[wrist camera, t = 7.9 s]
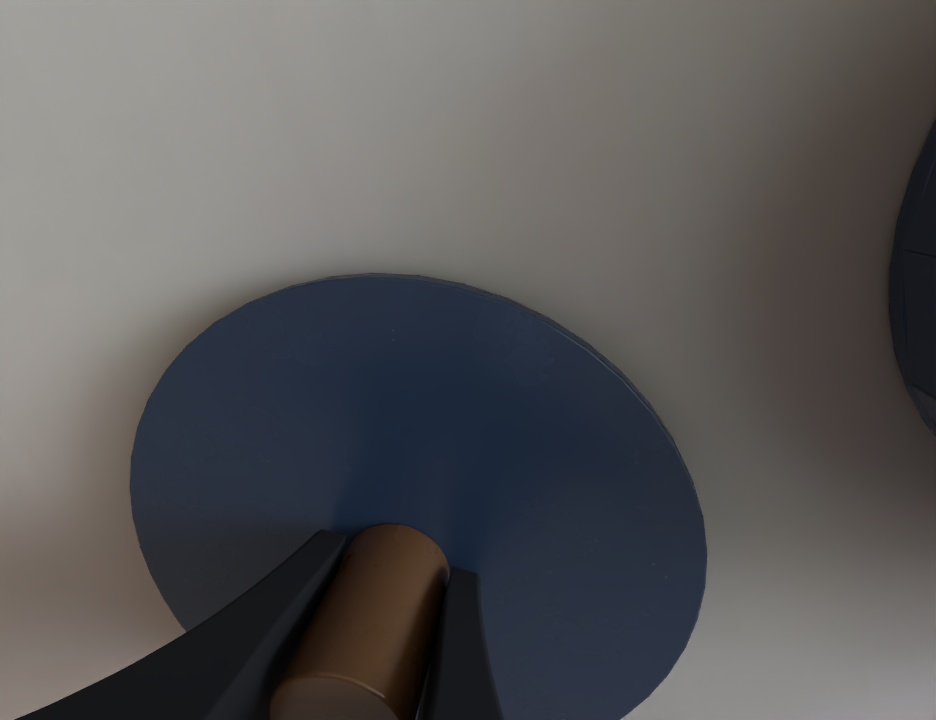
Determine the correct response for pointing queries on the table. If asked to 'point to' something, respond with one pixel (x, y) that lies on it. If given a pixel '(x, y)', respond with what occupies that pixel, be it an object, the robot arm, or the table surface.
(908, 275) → the pan
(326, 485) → the pan lid
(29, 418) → the table surface
